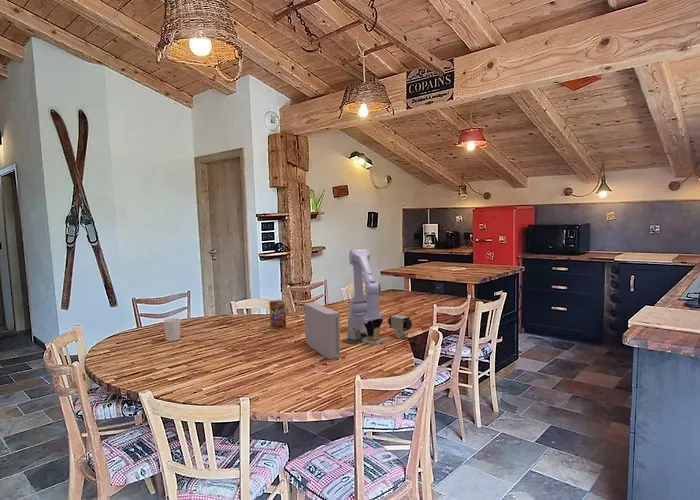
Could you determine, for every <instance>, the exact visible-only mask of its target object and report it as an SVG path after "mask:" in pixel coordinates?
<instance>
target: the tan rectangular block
mask: <svg viewBox="0 0 700 500" xmlns="http://www.w3.org/2000/svg"><path fill="white" fill-rule="evenodd" d="M366 333H367V332H366ZM380 338H381V337H380V329H379V327H376V326H374V329H373V336H372V337H371V336H368V333H367V340H370V341H376V340H379V339H380Z"/></svg>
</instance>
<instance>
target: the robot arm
mask: <svg viewBox="0 0 700 500" xmlns="http://www.w3.org/2000/svg"><path fill="white" fill-rule="evenodd" d="M348 258H349V265H352V269H353V293H354V294H353V296H352V297H351V298H350V299H349V304H348V309H349V314H348V315H347V316H348V317H347V330H348V329H351V328H358V329H360V333H362V332H366V333H368V336H371V337H372V336H373V329H374V326H376V327H379V330H380V329H381V325H382V323H383V322H384V321H383V320H384V319H383V318H384V314H383V313H380V304H379V303H380V299H379V298H380V294H381V283H380V282H379V281H378V280H377V279H376V276H375V273H374V271H373V270H371V268H370V267H371V266H370V262H369V261H370V258H371V252H370V249H369V248H368V247H367V248H355V249H354V248H353V249H352V248H351V249H350V250H349V255H348ZM364 286H365V287H364ZM364 290H365V296H364ZM347 330H346V331H347Z"/></svg>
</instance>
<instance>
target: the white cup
mask: <svg viewBox="0 0 700 500" xmlns="http://www.w3.org/2000/svg"><path fill="white" fill-rule="evenodd" d="M163 327H164V328H163V329H164V335H165V341H166V342H167V341H169V342H175V341H178V340H180V339H181V319H180V318H177V317H173V318H167V319H164V320H163Z"/></svg>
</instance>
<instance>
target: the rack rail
mask: <svg viewBox="0 0 700 500" xmlns="http://www.w3.org/2000/svg"><path fill="white" fill-rule="evenodd" d="M360 334H361V339H359V340H357V341H352V340H348V337H347V338H345V339H342V343H344V344H347V345H348V344H349V345H353V346H356V345H358V344H360V343H363V342H362V340H363V339H365V338H367V332H366V331H364V332H360Z"/></svg>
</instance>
